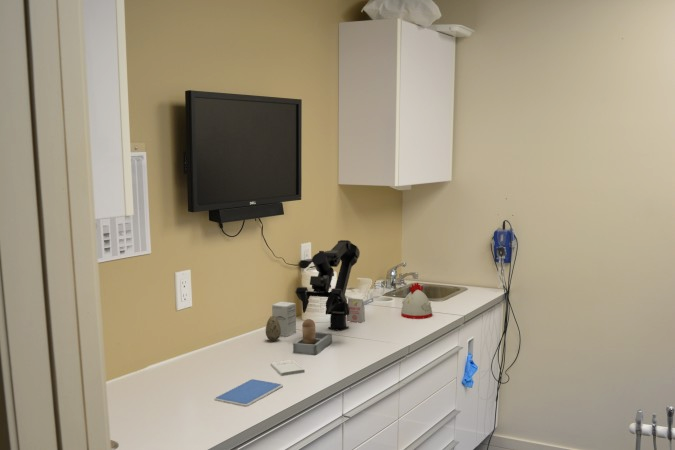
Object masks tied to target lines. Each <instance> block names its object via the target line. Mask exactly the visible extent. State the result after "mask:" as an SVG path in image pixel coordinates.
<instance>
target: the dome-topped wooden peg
mask: <svg viewBox="0 0 675 450" xmlns="http://www.w3.org/2000/svg"><path fill="white" fill-rule="evenodd" d="M301 326H302V328H301V329H302V331H301V332H302V337H303V344H313V345H315V344H316V338H315V332H316V323H315V321H314V320H312V319H310V318H307V319H305V320H304V321H303V322H302V324H301Z"/></svg>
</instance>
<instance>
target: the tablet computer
mask: <svg viewBox="0 0 675 450" xmlns="http://www.w3.org/2000/svg"><path fill="white" fill-rule="evenodd" d="M281 388H283V384H281V383H277V382H270V381H265V380H259V379H254V378H253V379H252V378H251V379H249V380H248V381H247V380H246V382H244V383H241V384H240V385H238V386H236V387H234V388H232V389H230V390H228V391H225V392H224V393H222V394H220V395H218V396H216V397H215V398H213V399H214V401H216V402H221V403H226V404H230V405H235V406H239V407H240V406H241V407H244V408H245V407H246V408H248V407H249V406H251V405H253V404H254V403H256V402H258V401H259V400H262V399H263V398H265V397H267V396H268V395H270V394H273V392H275V391H277V390H279V389H281Z"/></svg>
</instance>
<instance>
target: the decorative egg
mask: <svg viewBox="0 0 675 450" xmlns="http://www.w3.org/2000/svg"><path fill="white" fill-rule="evenodd" d="M280 334H281V328H280V324H279V321H278V319H277V318H276V317H275V316H272V315H271V316H270V317H269V318H268V320H267V322H266V325H265V335H266V338H267V339H268V340H269V341H272V342H276V341H277V340H279V338H280V337H281V335H280Z"/></svg>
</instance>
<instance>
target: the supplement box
mask: <svg viewBox="0 0 675 450" xmlns="http://www.w3.org/2000/svg"><path fill="white" fill-rule="evenodd" d="M296 306H297V303H295V302H289V301H279V302H278V301H277V302H276V303H273V304H271V310H272V313H271V314H272V315H271V316H275V317H276V318H277V319H278V321H279V324H280V328H281V334H280V337H289V336H292V335H294V334H296V333H297V309H296V308H297V307H296Z"/></svg>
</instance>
